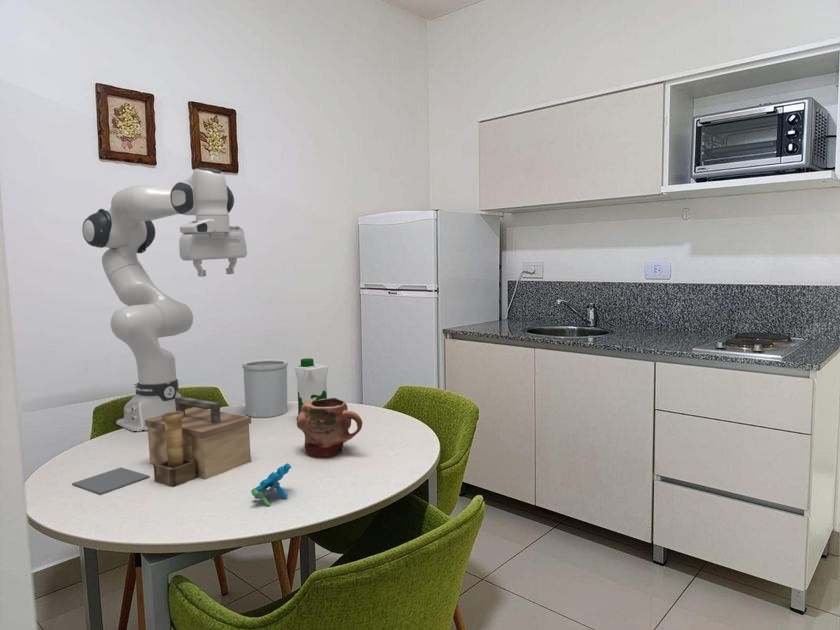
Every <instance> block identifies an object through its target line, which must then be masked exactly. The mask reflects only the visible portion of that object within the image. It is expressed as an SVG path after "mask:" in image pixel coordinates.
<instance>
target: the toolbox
mask: <svg viewBox="0 0 840 630" xmlns="http://www.w3.org/2000/svg"><path fill="white" fill-rule="evenodd" d="M175 405H176V411H181V412H184V418H183V419H182V420H181V422H182V438H183V454H184V464H183V465H181V466H178V467H175V468H171V467H168V461H167V446H166V430H165V422H164V421H162V416H158V417H154V418H150V419H147V420H145V426H147V427H148V430H147V436H148V437H147V438H148V452H149V454H148V455H149V464H150V463H151V464H150V465H153V464H155V465H153V475H154V477H153V479H154V482H155V483H158V484H161V485H165V486H169V487H171V488H174V487H177V486H179V485H181V484H184V483H187V482H190V481H192V480H195V479H197V478H198V479H199V478H200V479H205V480H207V479H209V478H212V477H214V476H217V475H219V474H223V473H224V472H227V471H230V470H232V469H235V468H237V467H241V466H243V465H245V464H247V462H248V463H250V462H252V460H251V459H252V456H251V440H250V439H251V437H250V425H251V424H252V417H250V416H247V415H242V414H241V415H239V414H236V413H228V412H223V411H221V403H220V402H214V401H209V400H204V399H197V398H192V397H186V396H182V395H181V396H179V397H175ZM185 405H189V406H193V407H189V408H186V406H185ZM242 464H243V465H242Z"/></svg>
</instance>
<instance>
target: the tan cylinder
mask: <svg viewBox="0 0 840 630" xmlns="http://www.w3.org/2000/svg"><path fill="white" fill-rule="evenodd" d="M183 418H184V412H181V411H174V412H168V413H164V414H162V421H164V422H165V430H166V446H167V461H168V467H171V468H175V467H178V466H181V465H183V464H184V454H183V438H182V422H181V420H182V419H183Z"/></svg>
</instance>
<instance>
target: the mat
mask: <svg viewBox="0 0 840 630" xmlns="http://www.w3.org/2000/svg"><path fill="white" fill-rule="evenodd" d="M149 478H150V475H148V474H144V473H141V472H138V471H134V470H132V469H127V468H124V467H118V468H114V469H112V470H108V471H105V472H103V473H100V474H99V473H98V474H96V475H93V476H91V477H87V478H83V479H81V480H78V481H75V482H72V483H71V485H72V486H75V487H76V488H80V489H83V490H86V491H88V492H92V493H95V494H96V495H97V494H98V495H100V496H102V495H104V494H107V493H111V492H113V491H115V490H118V489H121V488H124V487H126V486H131V485H132V484H136V483H138V482H141V481H143V480H145V479H146V480H147V479H149Z"/></svg>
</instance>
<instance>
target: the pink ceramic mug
mask: <svg viewBox="0 0 840 630" xmlns="http://www.w3.org/2000/svg"><path fill="white" fill-rule="evenodd" d="M352 420H354V422H355V423H356V427H357V428H356V430H355V431H354V432H352V433H350V432H349V430H350V428H351V426H352ZM296 427H297V428H298V430H300V431H302V433H303V434H304V450H305V453H306V455H308V456H310V457H312V458H319V459H328V458H329V459H330V458H331V457H335V456H337V455H339V454H341V453H342V451H343V449H344V444H345V443H347V442H348V441H350V440H352V439H353V438H354V437H355V436H356V435H357V434H359V433H360V432H361V430H362V428H363V420H362V418H361V417H360V415H359V414H358V413H357V412H355V411H353V410H349V409H348V405H347V403H346V402H345V401H344V400H342V399H340V398H339V399H338V398H337V397H331V398H330V397H329V398H327V399H321V400H311V401H308V402H306V403H304V404H303V405H302V407H301V411H300V414H299V415H298V414H297V416H296Z"/></svg>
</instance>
